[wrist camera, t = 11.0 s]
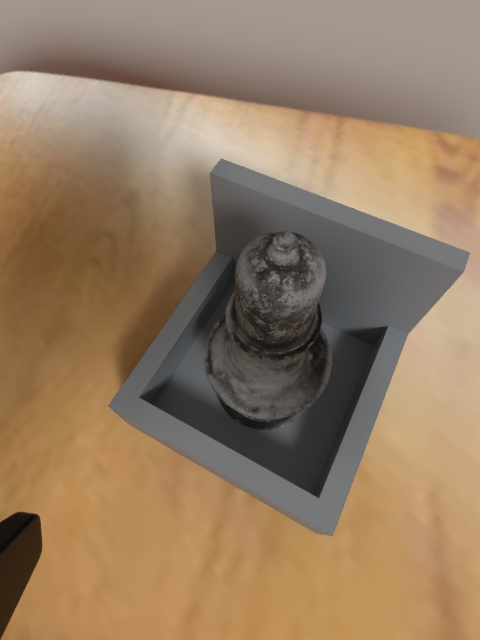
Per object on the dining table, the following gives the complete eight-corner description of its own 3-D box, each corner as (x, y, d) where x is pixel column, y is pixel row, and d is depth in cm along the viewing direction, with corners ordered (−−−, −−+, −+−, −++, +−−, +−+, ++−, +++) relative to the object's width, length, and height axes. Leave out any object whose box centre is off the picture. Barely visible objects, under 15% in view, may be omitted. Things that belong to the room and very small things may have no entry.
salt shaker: (186, 387, 21) (129, 244, 10) (254, 312, 23) (266, 129, 12) (274, 461, 19) (316, 380, 8) (339, 372, 21) (438, 220, 11)
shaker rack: (317, 533, 19) (375, 541, 11) (127, 423, 21) (58, 362, 13) (390, 346, 23) (469, 252, 15) (227, 272, 25) (221, 158, 17)
